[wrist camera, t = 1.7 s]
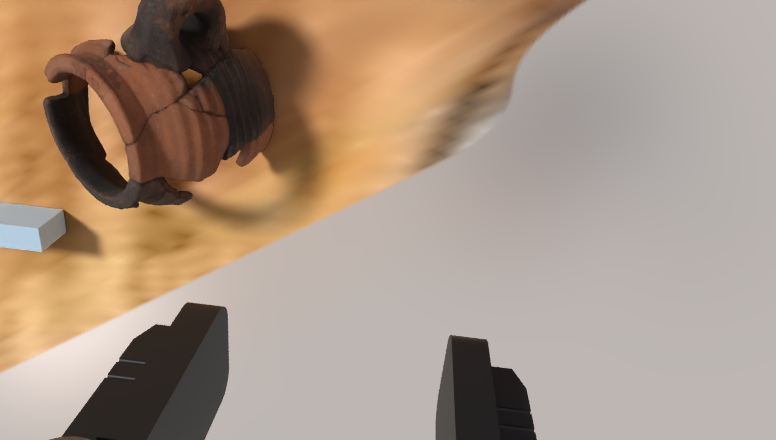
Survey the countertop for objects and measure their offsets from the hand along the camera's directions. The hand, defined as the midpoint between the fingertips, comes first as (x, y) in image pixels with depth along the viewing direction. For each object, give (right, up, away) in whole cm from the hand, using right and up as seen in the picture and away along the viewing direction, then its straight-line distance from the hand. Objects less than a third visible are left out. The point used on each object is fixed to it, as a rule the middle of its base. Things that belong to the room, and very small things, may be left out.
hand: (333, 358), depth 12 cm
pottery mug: (-9, +10, +20) cm, 24 cm away
